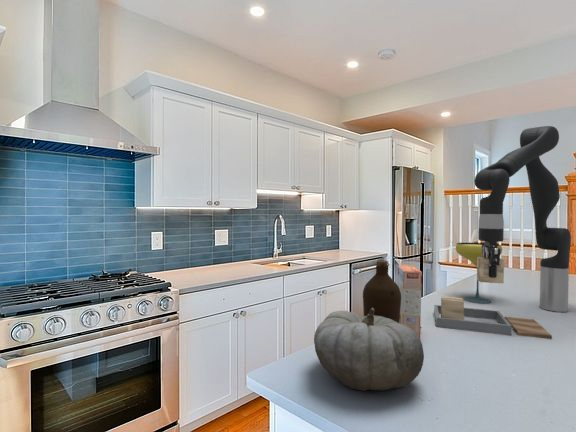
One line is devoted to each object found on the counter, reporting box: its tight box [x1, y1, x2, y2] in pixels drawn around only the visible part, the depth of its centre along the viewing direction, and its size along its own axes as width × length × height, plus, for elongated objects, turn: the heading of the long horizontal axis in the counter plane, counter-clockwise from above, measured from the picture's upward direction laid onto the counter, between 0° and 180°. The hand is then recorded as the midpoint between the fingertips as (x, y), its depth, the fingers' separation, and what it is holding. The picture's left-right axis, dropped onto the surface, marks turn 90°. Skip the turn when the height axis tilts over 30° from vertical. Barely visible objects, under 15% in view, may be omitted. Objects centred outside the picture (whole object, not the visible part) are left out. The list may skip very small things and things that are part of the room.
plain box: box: [440, 296, 465, 320], centre depth 124 cm, size 5×7×8 cm
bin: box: [433, 304, 513, 336], centre depth 123 cm, size 18×22×3 cm
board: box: [504, 315, 553, 340], centre depth 117 cm, size 18×9×1 cm, turn 159°
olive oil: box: [362, 259, 401, 323], centre depth 99 cm, size 11×11×25 cm
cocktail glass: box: [455, 242, 503, 304], centre depth 154 cm, size 18×18×25 cm
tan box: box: [476, 257, 505, 284], centre depth 120 cm, size 5×7×8 cm
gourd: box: [313, 308, 425, 392], centre depth 81 cm, size 25×25×17 cm
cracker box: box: [397, 264, 423, 339], centre depth 114 cm, size 14×6×21 cm, turn 168°
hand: (490, 275), depth 120 cm, fingers closed on tan box, 5 cm apart
